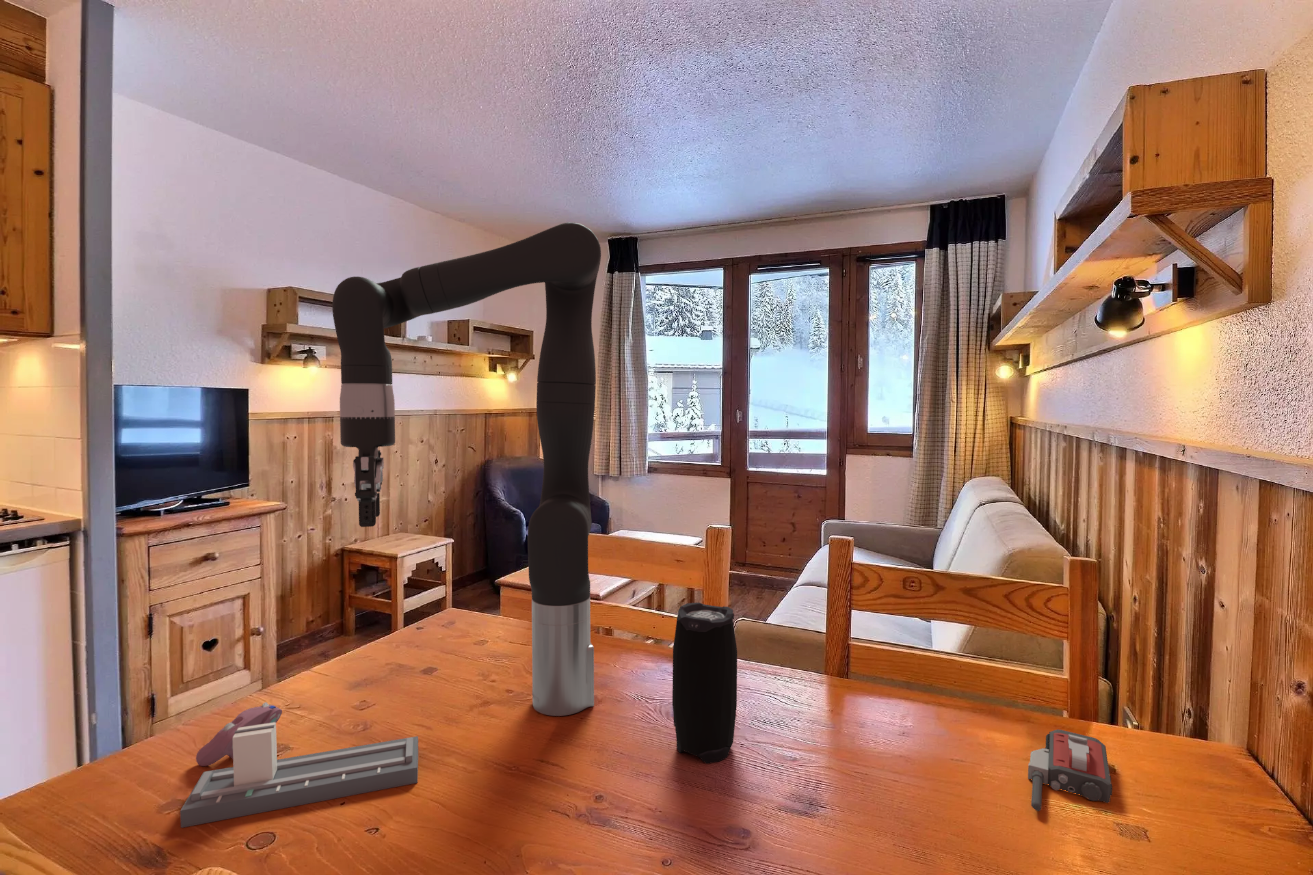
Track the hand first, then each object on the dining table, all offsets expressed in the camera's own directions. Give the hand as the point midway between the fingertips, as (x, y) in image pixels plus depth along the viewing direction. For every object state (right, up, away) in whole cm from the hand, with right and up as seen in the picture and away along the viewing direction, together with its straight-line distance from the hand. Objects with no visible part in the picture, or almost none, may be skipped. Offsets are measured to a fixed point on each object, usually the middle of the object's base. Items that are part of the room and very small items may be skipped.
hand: (370, 521), depth 96 cm
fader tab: (-5, -29, -19) cm, 35 cm away
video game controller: (-14, -31, -8) cm, 35 cm away
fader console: (0, -31, -16) cm, 35 cm away
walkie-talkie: (+96, -32, -15) cm, 102 cm away
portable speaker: (+50, -31, -8) cm, 59 cm away
